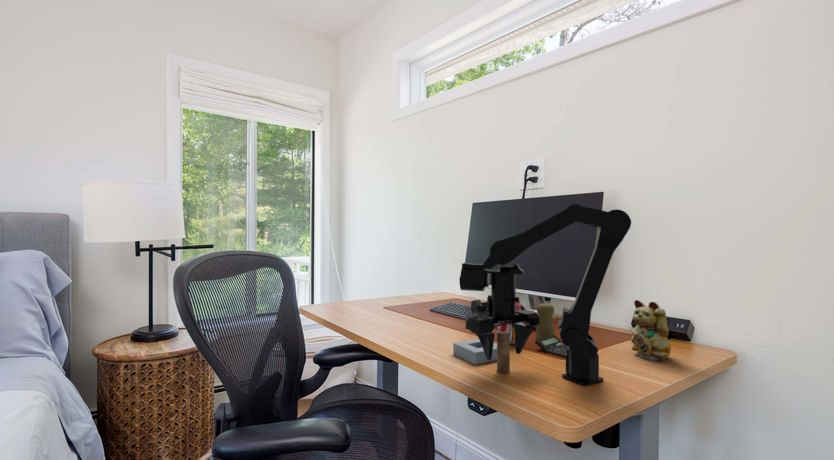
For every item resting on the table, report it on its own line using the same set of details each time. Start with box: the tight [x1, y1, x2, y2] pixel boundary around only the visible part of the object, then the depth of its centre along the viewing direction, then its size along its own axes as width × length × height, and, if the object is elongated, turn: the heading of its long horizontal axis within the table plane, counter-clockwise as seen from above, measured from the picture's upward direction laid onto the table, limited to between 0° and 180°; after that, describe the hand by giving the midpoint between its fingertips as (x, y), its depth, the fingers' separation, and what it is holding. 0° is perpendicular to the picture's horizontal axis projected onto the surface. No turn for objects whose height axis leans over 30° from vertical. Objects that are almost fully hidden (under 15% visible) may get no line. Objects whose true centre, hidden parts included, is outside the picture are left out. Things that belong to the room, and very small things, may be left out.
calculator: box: [534, 334, 570, 359], centre depth 113 cm, size 9×12×3 cm
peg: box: [496, 331, 511, 374], centre depth 97 cm, size 3×3×9 cm
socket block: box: [452, 338, 497, 365], centre depth 109 cm, size 10×10×3 cm
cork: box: [535, 303, 556, 341], centre depth 125 cm, size 6×6×11 cm
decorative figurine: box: [630, 299, 672, 362], centre depth 108 cm, size 10×8×15 cm
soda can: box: [497, 298, 522, 345], centre depth 123 cm, size 7×7×13 cm
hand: (503, 356), depth 97 cm, fingers open, 9 cm apart
